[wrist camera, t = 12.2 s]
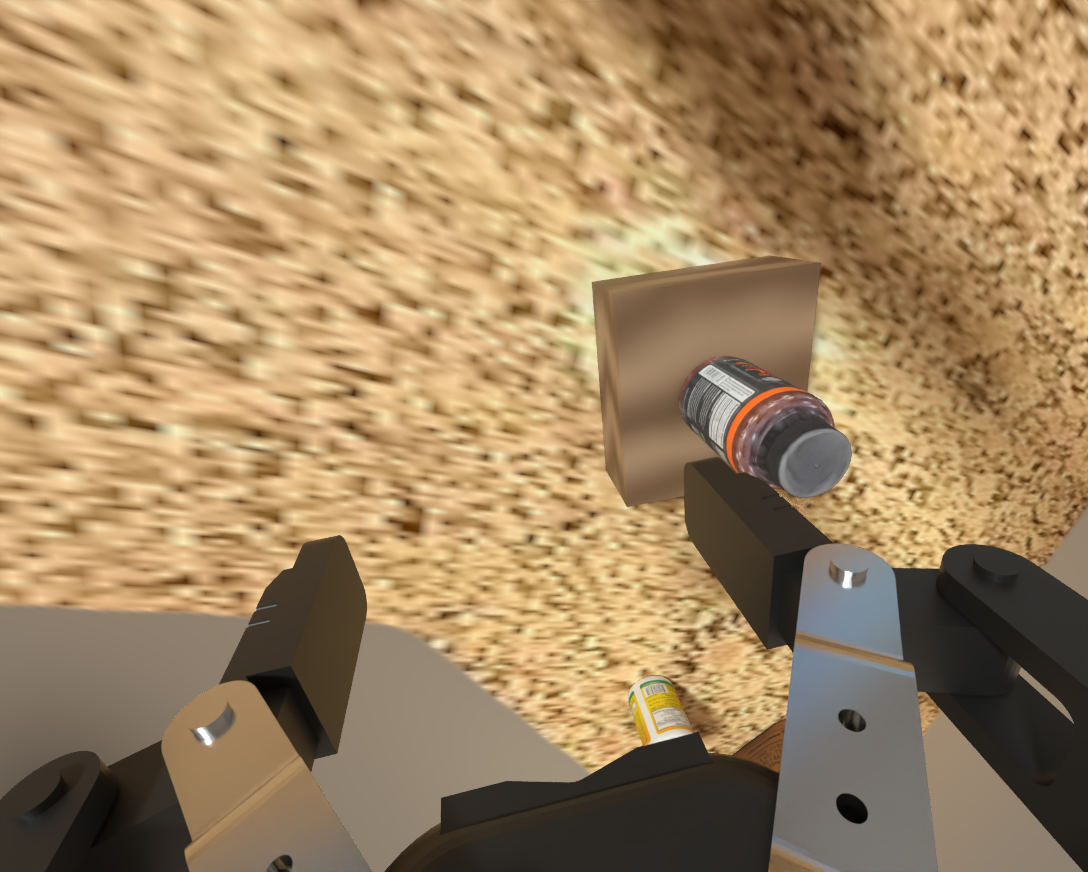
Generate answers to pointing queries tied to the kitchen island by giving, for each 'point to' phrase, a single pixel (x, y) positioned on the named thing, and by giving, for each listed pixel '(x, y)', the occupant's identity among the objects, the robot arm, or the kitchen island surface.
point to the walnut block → (690, 355)
